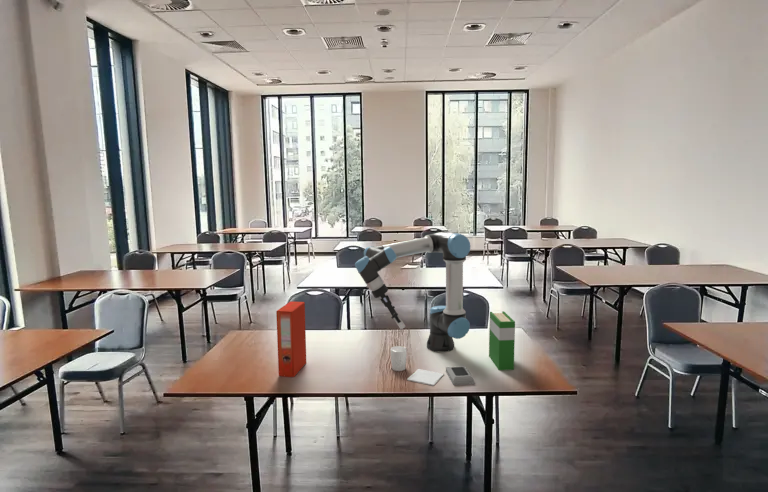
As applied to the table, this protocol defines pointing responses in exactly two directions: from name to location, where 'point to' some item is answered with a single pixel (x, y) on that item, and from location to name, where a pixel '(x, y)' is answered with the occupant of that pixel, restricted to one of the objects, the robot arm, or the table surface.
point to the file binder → (291, 338)
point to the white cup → (398, 358)
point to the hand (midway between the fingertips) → (401, 324)
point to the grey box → (459, 375)
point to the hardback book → (502, 340)
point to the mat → (425, 377)
